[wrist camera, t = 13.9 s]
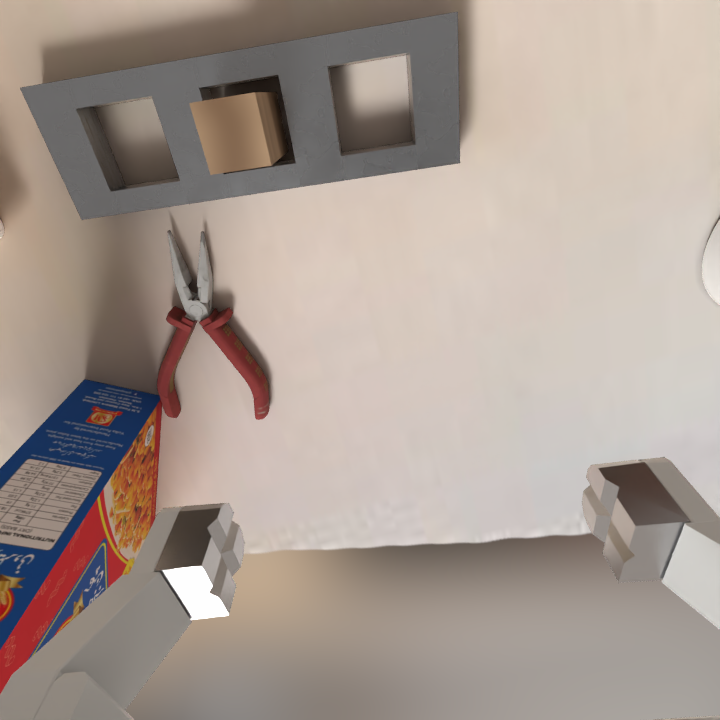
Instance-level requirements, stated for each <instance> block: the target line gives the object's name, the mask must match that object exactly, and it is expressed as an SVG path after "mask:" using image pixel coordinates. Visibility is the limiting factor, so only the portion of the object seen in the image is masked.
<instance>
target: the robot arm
mask: <svg viewBox="0 0 720 720" xmlns="http://www.w3.org/2000/svg"><path fill="white" fill-rule="evenodd" d="M702 277H703V282H704V286H705V288H706V290H707V292H708V294H709V295H710V297H711V298H712V299H713V300H714V301H715V302H716V303H717V304H719V305H720V220H719V221H718V223H717V224H716V226H715V228H714V230H713V232H712V233H711V236H710V238H709V240H708V243H707V245H706V248H705V252H704V256H703V262H702ZM586 478H587V480H588V481H589V483H590V486H589V487H588V488H587V489H585V490H584V491H583V498H582V506H583V512H584V516H585V519H586V522H587V524H588V526H589V528H590V530H591V532H592V534H593V535H595V536H596V537H597V538H599V539H600V540H601V541H603V542H604V543H605V545H604V549H603V555H604V557H605V558H606V560H607V562H608V564H609V566H610V567H611V569H612V571H613V573H614V575H615V577H616V579H617V580H618V582H634V581H635V582H636V581H654V580H662V583H663V584H664V585H666V586H667V587H668V588H669V589H671V590H672V591H673V592H674V593H675V594H677V595H678V596H679V597H680V598H682V599H683V600H684V601H685V602H687V603H688V604H689V605H690V606H691V607H693V608H694V609H695V610H696V611H698V612H699V613H700V614H701V615H703V616H704V617H705V618H706V619H707V620H709V621H710V622H711V623H712V624H714V625H715V626H716V627H717V628H718V629H720V517H719V516H718V515H717V514H716V513H715V512H714V511H713V509H712V508H711V507H710V506H709V505H708V504H707V502H706V501H705V500H704V499H703V498H702V497H701V496H700V494H699V493H698V492H697V491H696V490H695V489H694V487H693V486H692V485H691V484H690V483H689V482H688V481H687V479H686V478H685V477H684V476H683V475H682V474H681V472H680V471H679V470H678V469H677V468H676V467H675V466H674V464H673V463H672V462H671V461H670V460H668V459H667V458H665V457H661V458H651V459H642V460H630V461H621V462H613V463H604V464H595V465H591V466H590V467H589V468H588V471H587V475H586ZM233 514H234V512H233V510H232V508H231V506H230V504H229V503H220V504H206V505H193V506H183V507H171V508H163V509H162V510H161V511H160V512H159V513H158V514H157V516H156V518H155V520H154V522H153V525H152V527H151V529H150V531H149V533H148V535H147V537H146V539H145V541H144V543H143V545H142V548H141V550H140V552H139V554H138V556H137V558H136V560H135V562H134V564H133V566H132V568H131V571H130V573H129V574H127V575H122V576H121V577H120V578H118V579H117V580H116V581H115V582H114V583H113V584H112V585H111V586H110V587H109V588H107V589H106V590H105V591H104V592H103V593H102V594H101V595H100V596H99V597H97V598H96V599H95V600H94V601H93V602H92V603H91V604H90V605H89V606H87V607H86V608H85V609H84V610H83V611H82V612H81V613H80V614H79V615H77V616H76V617H75V618H74V619H73V620H72V621H71V622H70V623H69V624H68V625H66V626H65V627H64V628H63V629H62V630H61V631H60V632H59V633H58V634H56V635H55V636H54V637H53V638H52V639H51V640H50V641H49V642H48V643H46V644H45V645H44V646H43V647H42V648H41V649H40V650H39V651H38V652H37V653H35V654H34V655H33V656H32V657H31V658H30V659H29V660H28V661H27V662H25V663H24V664H23V665H22V666H21V667H20V668H19V669H18V670H17V671H15V672H14V673H13V674H12V675H11V677H10V679H9V681H8V682H7V684H6V686H5V687H4V689H3V691H2V692H1V694H0V720H134V719H133V718H132V717H131V716H130V715H129V714H128V713H127V712H126V711H125V710H126V708H127V707H128V706H129V704H130V703H131V702H132V700H133V699H134V698H135V696H136V695H137V694H138V693H139V691H140V690H141V689H142V687H143V686H144V685H145V683H146V682H147V681H148V679H149V678H150V677H151V675H152V674H153V673H154V671H155V670H156V669H157V667H158V666H159V665H160V663H161V662H162V661H163V659H164V658H165V657H166V655H167V654H168V653H169V651H170V650H171V649H172V647H173V646H174V645H175V643H176V642H177V641H178V640H179V638H180V637H181V636H182V634H183V633H184V632H185V630H186V629H187V628H188V626H189V625H190V624H191V622H192V621H191V620H192V619H201V618H209V617H217V616H227V615H229V612H230V608H231V604H232V601H233V597H234V593H235V588H236V584H235V582H234V580H233V578H232V576H233V575H234V574H235V573H236V572H237V570H238V569H239V568H240V567H241V564H242V559H243V555H244V539H243V533H242V530H241V528H240V526H239V525H238V524H237V523H235V522H233V521H232V517H233ZM655 720H720V715H719V716H703V717H688V718H671V719H655Z"/></svg>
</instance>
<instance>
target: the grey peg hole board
mask: <svg viewBox="0 0 720 720" xmlns="http://www.w3.org/2000/svg"><path fill="white" fill-rule="evenodd" d="M403 55H406V58H407V73H408V88H409V102H410V117H411V132H412V141H411V142H405V143H398V144H392V145H385V146H379V147H373V148H366V149H360V150H353V151H347V152H342V151H341V144H340V138H339V131H338V124H337V117H336V110H335V103H334V97H333V90H332V83H331V76H330V69H329V68H332V67H338V66H344V65H350V64H356V63H362V62H368V61H374V60H380V59H385V58H391V57H397V56H403ZM273 77H279V81H280V86H281V91H282V96H283V101H284V106H285V111H286V116H287V121H288V126H289V131H290V136H291V141H292V146H293V151H294V156H295V160H288V161H282V162H276V163H274V164H273V165H272V166H266V167H259V168H253V169H246V170H239V171H233V172H226V173H220V174H213V175H210V171H209V168H208V165H207V161H206V158H205V155H204V151H203V148H202V144H201V141H200V138H199V134H198V131H197V128H196V124H195V121H194V118H193V114H192V111H191V108H190V104H189V103H193V102H199V101H205V100H211V99H212V96H211V92H210V88H213V87H219V86H225V85H231V84H237V83H243V82H249V81H255V80H261V79H267V78H273ZM20 89H21V91H22V93H23V96H24V98H25V100H26V102H27V104H28V106H29V108H30V111H31V113H32V115H33V117H34V119H35V121H36V123H37V125H38V128H39V130H40V132H41V134H42V136H43V138H44V140H45V142H46V145H47V147H48V149H49V151H50V153H51V155H52V157H53V160H54V162H55V164H56V166H57V168H58V170H59V172H60V174H61V177H62V179H63V181H64V183H65V185H66V187H67V189H68V191H69V194H70V196H71V198H72V200H73V202H74V204H75V206H76V209H77V211H78V213H79V215H80V217H81V219H82V220H84V219H91V218H97V217H104V216H111V215H117V214H124V213H131V212H137V211H144V210H151V209H157V208H164V207H171V206H177V205H184V204H191V203H197V202H204V201H211V200H217V199H224V198H231V197H237V196H244V195H251V194H257V193H264V192H271V191H277V190H284V189H291V188H297V187H304V186H310V185H317V184H324V183H330V182H337V181H344V180H350V179H357V178H364V177H370V176H377V175H384V174H390V173H397V172H404V171H410V170H417V169H424V168H430V167H437V166H444V165H450V164H457V163H460V132H459V68H458V12H453V13H448V14H442V15H436V16H430V17H425V18H419V19H413V20H407V21H402V22H396V23H390V24H384V25H379V26H373V27H367V28H361V29H355V30H350V31H344V32H338V33H332V34H327V35H321V36H315V37H309V38H304V39H298V40H292V41H286V42H281V43H275V44H269V45H263V46H258V47H252V48H246V49H240V50H235V51H229V52H223V53H217V54H212V55H206V56H200V57H194V58H189V59H183V60H177V61H171V62H166V63H160V64H154V65H148V66H143V67H137V68H131V69H125V70H120V71H114V72H108V73H102V74H97V75H91V76H85V77H79V78H74V79H68V80H62V81H56V82H51V83H45V84H39V85H33V86H27V87H22V88H20ZM148 98H153V101H154V104H155V107H156V110H157V113H158V116H159V119H160V122H161V125H162V128H163V131H164V134H165V137H166V140H167V143H168V146H169V149H170V152H171V155H172V158H173V161H174V164H175V167H176V170H177V173H178V176H179V178H172V179H166V180H159V181H153V182H146V183H140V184H133V185H127V186H125V184H124V181H123V179H122V176H121V174H120V171H119V169H118V166H117V164H116V161H115V159H114V156H113V154H112V151H111V149H110V146H109V144H108V141H107V139H106V136H105V134H104V131H103V129H102V126H101V124H100V121H99V119H98V116H97V114H96V111H95V109H94V107H100V106H106V105H112V104H118V103H124V102H130V101H136V100H142V99H148Z"/></svg>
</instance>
